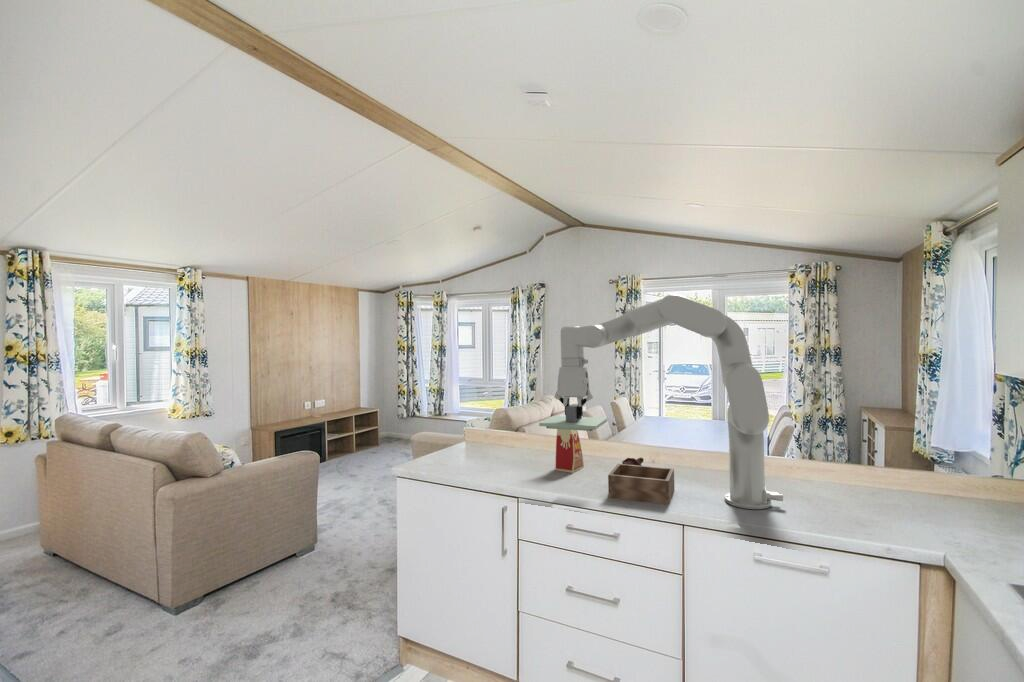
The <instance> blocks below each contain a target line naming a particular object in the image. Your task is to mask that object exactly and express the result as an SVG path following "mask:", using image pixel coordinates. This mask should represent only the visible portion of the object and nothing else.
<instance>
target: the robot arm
mask: <svg viewBox="0 0 1024 682" xmlns="http://www.w3.org/2000/svg"><path fill="white" fill-rule="evenodd" d="M670 325H676V326H679V327H681V328H683V329H686V330H687V331H691V332H694V333H696V334H698V335H700V336H702V337H705V338H710V339H711V340H712V342H714V344H715V346H716V349H717V354H718V357H719V363H720V369H721V374H722V383H723V385H724V387H725V388H726V391H727V392H726V393H727V398H728V403H729V406H728V408H727V414H726V415H727V417H726V418H727V429H728V460H729V461H728V463H729V465H728V466H729V468H728V469H729V492H728V493H726V494H725V495H724V502H726V503H727V504H729V505H731V506H734V507H737V508H739V509H740V508H742V509H747V510H763V509H768V508H770V507H771V506H772V501H777V502H784V495H783V494H782V493H781V494H779V493H778V492H777V491H769V490H767V486H766V477H765V476H766V475H765V474H766V473H765V436H764V432H765V430H766V429H767V427H768V426H769V422H770V414H769V408H768V407H769V406H768V402H767V397H766V392H765V387H764V382H763V379H762V376H761V374H760V372H759V371H758V369H757V368H756V367H755V366H753V362H752V357H751V353H750V349H749V345H748V341H747V337H746V335H745V333H744V331H743V329H742V327H741V326H740V325H739V324H738V323H737V321H736V320H734V319H733V318H731V317H730V316H728V315H726V314H724V313H723V311H720V309H717V308H714V307H712V306H709V305H706V304H704V303H701V302H698V301H695V300H694V299H690V298H688V297H686V296H685V295H684V296H683V295H681V294H677V293H670V294H667V295H665V296H664V297H663V298H660V299H657V300H654V301H652V302H649V303H646V304H644V305H641V306H639V307H635V308H631V309H630V310H628V311H627V312H625V313H624V314H622V315H620V316H618V317H615V318H613V319H610V320H608V321H605V322H601V323H598V324H589V325H582V326H577V325H574V326H573V325H572V326H571V325H568V326H563V327H561V328H560V362H561V363H560V365H561V367H559V369H558V374H557V375H558V376H557V390H556V392H555V393H554V398H555V399H556V400H558V401H559V402H561V404H563V406H564V416H566V408H565V407H567V406H569V405H571V404H570V398H576V400H577V404H578V407H577V419H580V418H581V416H582V417H583V410H584V409H583V406H584V405H585V404H586V403H587V402H588V401H591V400H592V399H593V397H594V396H593V395H592V392H591V390H590V381H589V373H588V369H587V366H585V365H586V364H587V365H588V363H589V360H588V359H586V358H585V357H584V356H585V355H584V348H589V349H590V348H592V349H595V348H601V347H604V346H607V345H610V344H613V343H616V342H619V341H621V340H625V339H627V338H632V337H637V336H640V335H643V334H645V333H648V332H651V331H655V330H657V329H661V328H663V327H667V326H670Z"/></svg>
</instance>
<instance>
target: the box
mask: <svg viewBox="0 0 1024 682" xmlns="http://www.w3.org/2000/svg"><path fill="white" fill-rule="evenodd" d="M607 479H608V480H607V481H608V483H607V484H608V498H609V499H619V500H624V501H625V500H626V501H632V502H633V501H634V502H642V503H652V504H658V505H665V506H666V505H668V506H670V505H671V502H672V498H673V495H674V492H675V468H672V467H671V468H669V467H658V466H648V465H642V466H638V465H627V464H622V463H617V464H616V466H614V467H613V469H612V470H611V471H610V472H609V473H608V474H607Z"/></svg>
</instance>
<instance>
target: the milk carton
mask: <svg viewBox="0 0 1024 682" xmlns="http://www.w3.org/2000/svg"><path fill="white" fill-rule="evenodd" d="M581 444H582V443H581V440H580V436H579V430H565V429H556V440H555V468H554V469H555V471H558V472H565V473H571V474H573V473H576V472H577V471H579V470H582V469H583V468H585V467H584V466H585V465H584V456H583V450H582V446H581Z"/></svg>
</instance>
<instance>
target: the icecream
mask: <svg viewBox="0 0 1024 682" xmlns="http://www.w3.org/2000/svg"><path fill="white" fill-rule="evenodd" d="M644 460H645V459H644V458H643V457H638V458H637V459H636V458H634V457H633V458H631V457H627V458H625V459H624V460H622V461H621V464H627V465H638V466H643V465H642V464H643V462H644Z"/></svg>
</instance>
